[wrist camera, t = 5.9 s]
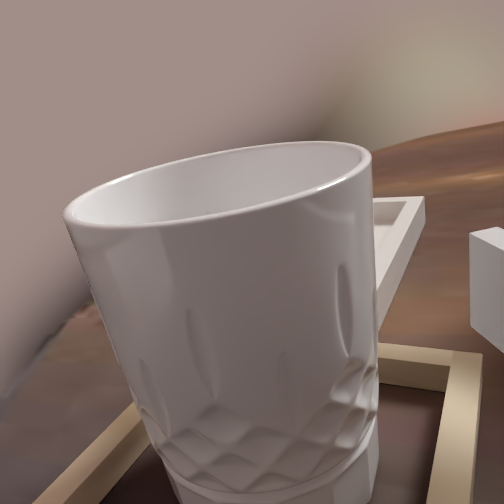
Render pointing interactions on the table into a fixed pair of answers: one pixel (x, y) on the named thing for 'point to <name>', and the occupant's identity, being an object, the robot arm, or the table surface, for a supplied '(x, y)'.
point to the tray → (394, 243)
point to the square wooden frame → (390, 372)
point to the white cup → (245, 317)
